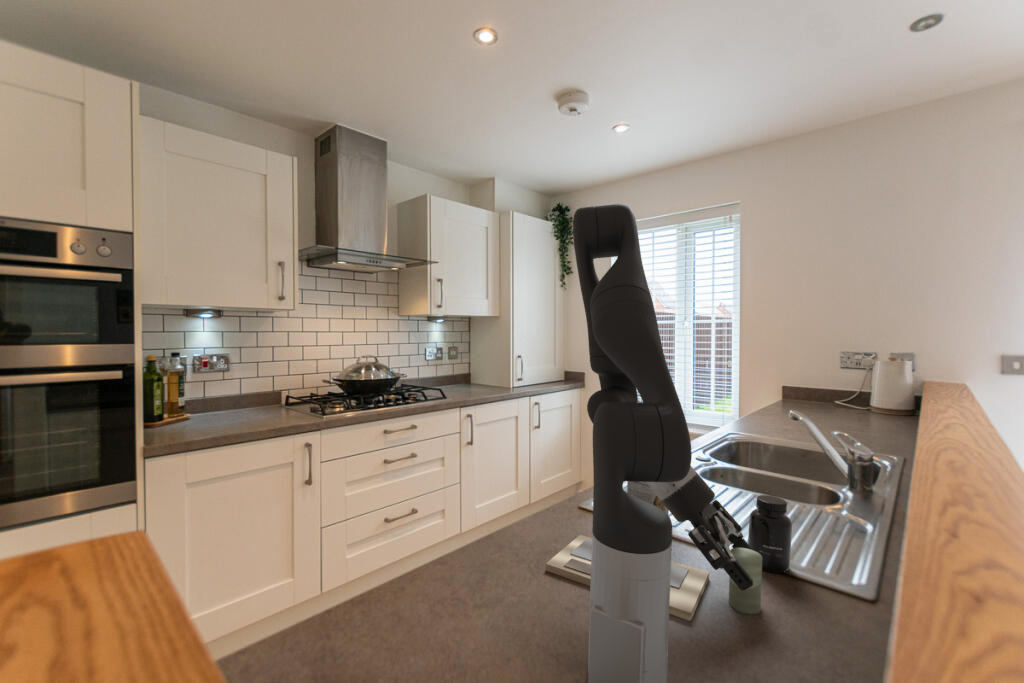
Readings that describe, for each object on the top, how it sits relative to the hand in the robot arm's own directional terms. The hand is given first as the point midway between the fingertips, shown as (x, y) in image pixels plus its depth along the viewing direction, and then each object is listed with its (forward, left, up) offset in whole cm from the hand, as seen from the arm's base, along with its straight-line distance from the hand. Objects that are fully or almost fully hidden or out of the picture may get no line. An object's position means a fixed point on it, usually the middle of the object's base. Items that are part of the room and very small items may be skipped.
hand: (751, 574), depth 71 cm
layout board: (-2, +19, -5) cm, 20 cm away
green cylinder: (0, +1, -5) cm, 5 cm away
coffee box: (+23, +23, -5) cm, 33 cm away
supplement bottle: (+17, -1, -5) cm, 18 cm away
